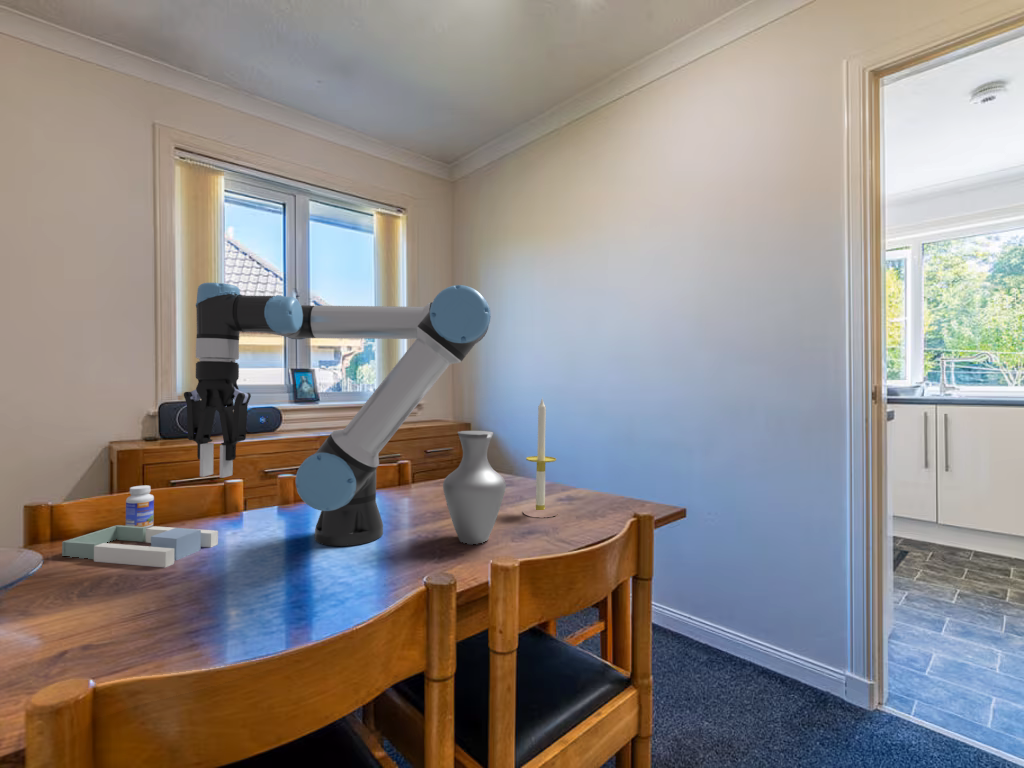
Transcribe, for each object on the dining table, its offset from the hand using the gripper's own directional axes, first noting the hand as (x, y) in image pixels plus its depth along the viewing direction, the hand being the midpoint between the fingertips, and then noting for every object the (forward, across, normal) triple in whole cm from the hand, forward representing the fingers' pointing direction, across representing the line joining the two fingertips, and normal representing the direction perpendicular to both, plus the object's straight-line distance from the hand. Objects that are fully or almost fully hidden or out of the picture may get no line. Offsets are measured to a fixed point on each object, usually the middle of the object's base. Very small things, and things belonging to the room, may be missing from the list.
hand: (216, 475), depth 100 cm
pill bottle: (+17, +32, -14) cm, 39 cm away
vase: (+17, -49, -21) cm, 56 cm away
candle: (+17, -62, -47) cm, 80 cm away
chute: (+17, +13, 0) cm, 21 cm away
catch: (+17, +26, 0) cm, 30 cm away
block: (+17, +9, 0) cm, 19 cm away
